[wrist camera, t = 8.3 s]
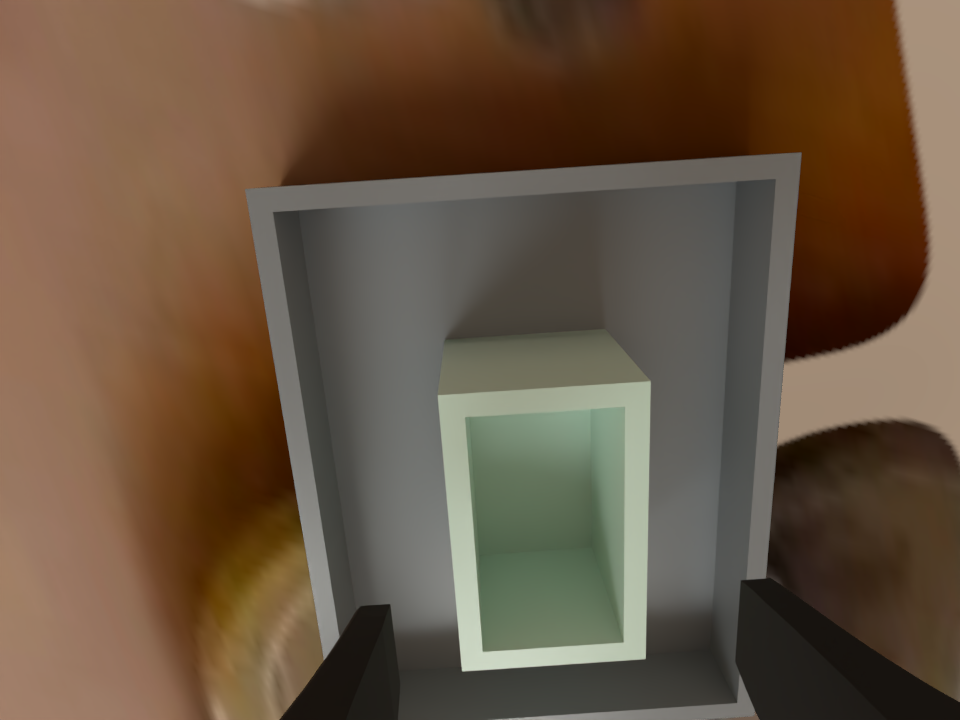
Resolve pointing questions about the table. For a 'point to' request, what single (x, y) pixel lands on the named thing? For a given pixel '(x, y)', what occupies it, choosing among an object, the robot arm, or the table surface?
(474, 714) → the grey tray
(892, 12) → the table surface
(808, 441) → the table surface
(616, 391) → the mint crate
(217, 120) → the table surface
